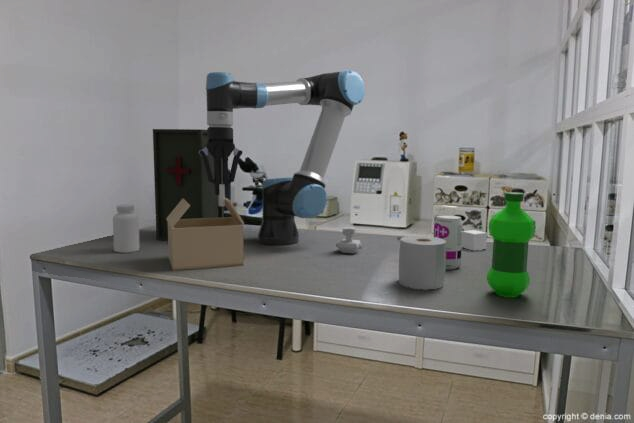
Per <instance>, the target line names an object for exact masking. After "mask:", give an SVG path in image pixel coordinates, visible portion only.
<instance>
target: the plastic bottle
mask: <svg viewBox="0 0 634 423" xmlns="http://www.w3.org/2000/svg"><path fill="white" fill-rule="evenodd" d="M524 196H525V194H524V193H523V192H516V191H510V192H508V191H506V192H504V195H503V199H504V201H505V206H504V207H503V208H502V209H501V210H499V211H498V212H496V213H495V214H494V215H493V216H492V217H491V218H490V220H489V222H488V232H489V233H488V234H489V235H490V236H491V237H492V238H493V239H492V240H493V241H492V255H491V256H492V257H491V267H490V269H489V270H488V272H487V273H486V274H487V275H486V281H487V283H488V285H489V286H490V288H491V289H492V290H493V291H494V293H495V294H496V295H497V296H500V297H503V296H505V297H504V298H510V297H511V298H517V297H519V296H520V295H521V294H522V293H524V292H525V291H527V289H528V288H529V286H530V285H531V279H530V278H531V277H530V275H529V273H528V271H527V270H528V269H527V267H528V254H529V243H530V241H531V240H532V239H533V238H534V237H535V234H536V227H537V226H536V223H535V220H534V219H533V218H532V217H531V216H530V215H529V214H528V213H527V212H526V211H525V210H523V208H521V205H522V204H521V203H522V202H524ZM518 295H519V296H518ZM516 296H517V297H516Z"/></svg>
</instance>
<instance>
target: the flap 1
mask: <svg viewBox="0 0 634 423" xmlns="http://www.w3.org/2000/svg"><path fill="white" fill-rule="evenodd" d="M189 207H190V205H189V204H188V203H187V202H186V201H185V200H184V199H182V200H181V201H180V202H179V204H178V205H177V206H176V207H175V208H174V210H173V211H172V212H171V213H170V214H169V216H168V217H167V218H166V220H167V221H168V223H169V225H170V227H171V228H173V226H174V225H175V224H176V223H177V222H178V220H179V219H180V218H181V217H182V215H183V214H184V213H185V212H186V211H187V209H188V208H189Z"/></svg>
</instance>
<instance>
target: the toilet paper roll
mask: <svg viewBox="0 0 634 423" xmlns="http://www.w3.org/2000/svg"><path fill="white" fill-rule="evenodd" d="M398 252H399V254H398V283H399V285H401V286H402V285H403V287H405V286H406V287H405V288H408V287H410V288H409V289H412V288H414V289H413V290H419V289H423V290H424V291H429V290H428V289H434V290H438V289H437V288H439V289H441V287H442V288H443V287H444V286H445V277H446V269H445V268H446V241H445V240H444V239H441V238H436V237H434V236H429V235H427V236H426V235H408V236H403V237H401V238H400V240H399V251H398ZM423 290H422V291H423Z"/></svg>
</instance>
